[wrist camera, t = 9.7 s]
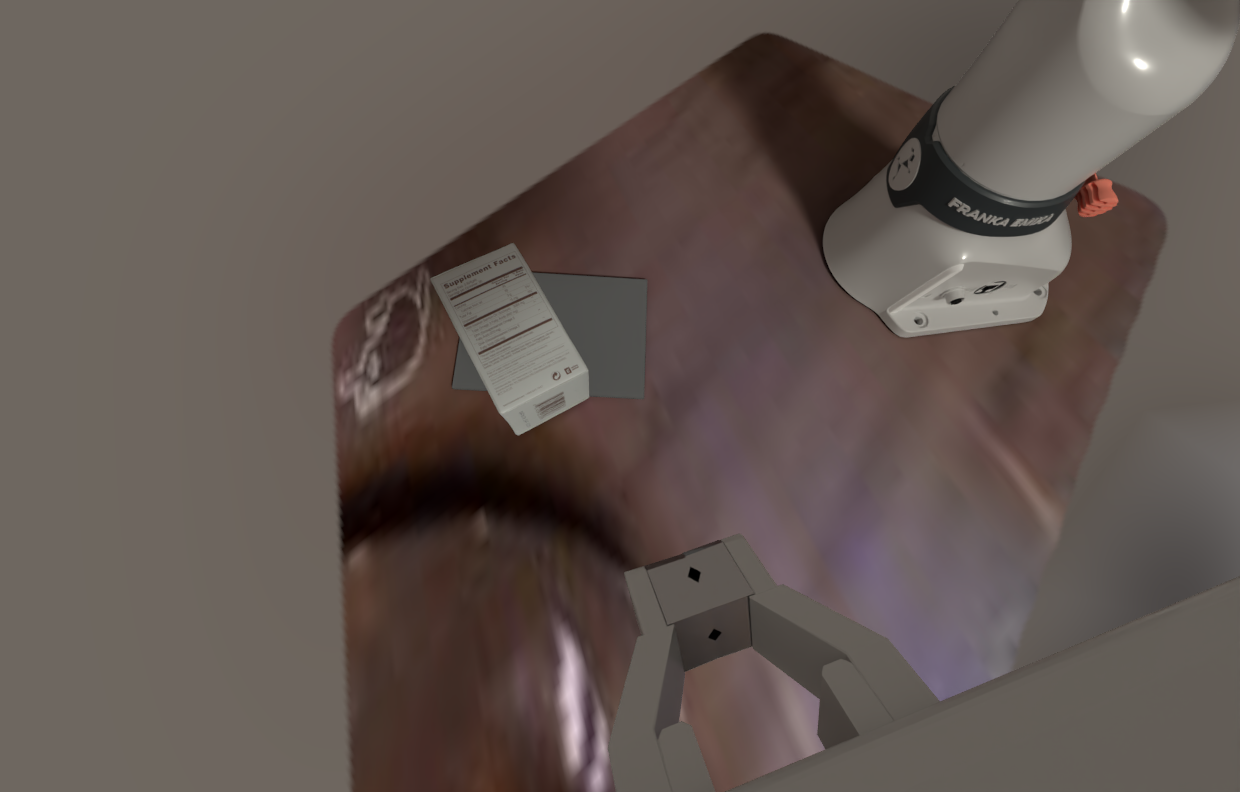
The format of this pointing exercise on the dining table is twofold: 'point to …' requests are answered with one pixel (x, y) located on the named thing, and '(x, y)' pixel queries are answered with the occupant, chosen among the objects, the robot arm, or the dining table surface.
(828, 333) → the dining table surface
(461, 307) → the supplement box
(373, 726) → the dining table surface
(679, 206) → the dining table surface
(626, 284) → the mat
